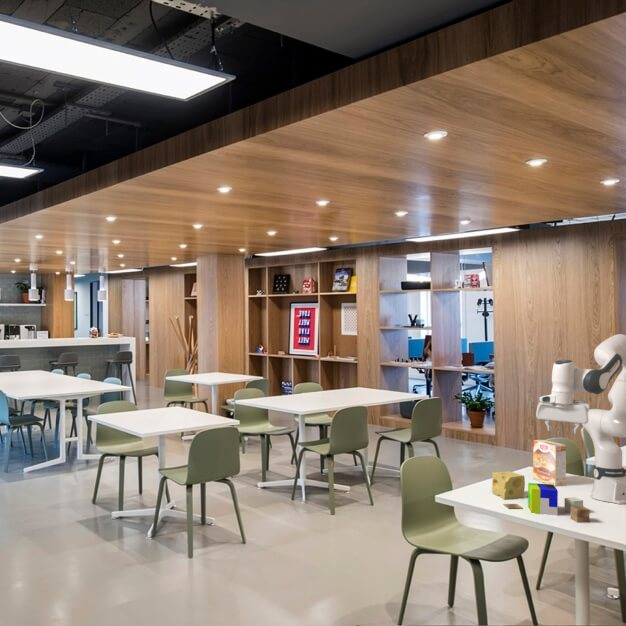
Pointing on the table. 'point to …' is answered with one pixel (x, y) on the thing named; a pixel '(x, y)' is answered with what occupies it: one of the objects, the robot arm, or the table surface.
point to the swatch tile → (512, 506)
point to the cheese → (508, 485)
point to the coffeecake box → (549, 462)
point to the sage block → (572, 503)
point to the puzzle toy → (543, 499)
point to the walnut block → (579, 514)
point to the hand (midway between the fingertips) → (561, 432)
